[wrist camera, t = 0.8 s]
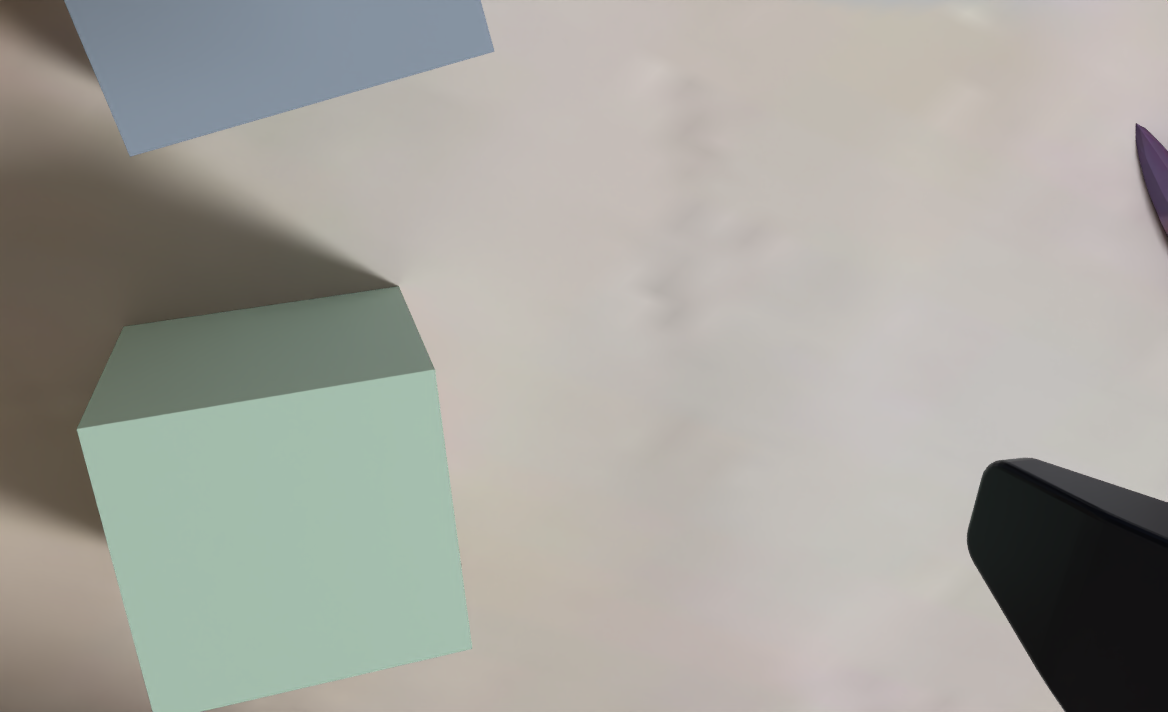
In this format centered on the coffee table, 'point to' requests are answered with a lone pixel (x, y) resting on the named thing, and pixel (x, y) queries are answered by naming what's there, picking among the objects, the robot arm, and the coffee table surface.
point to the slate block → (258, 56)
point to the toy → (1154, 171)
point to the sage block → (276, 498)
